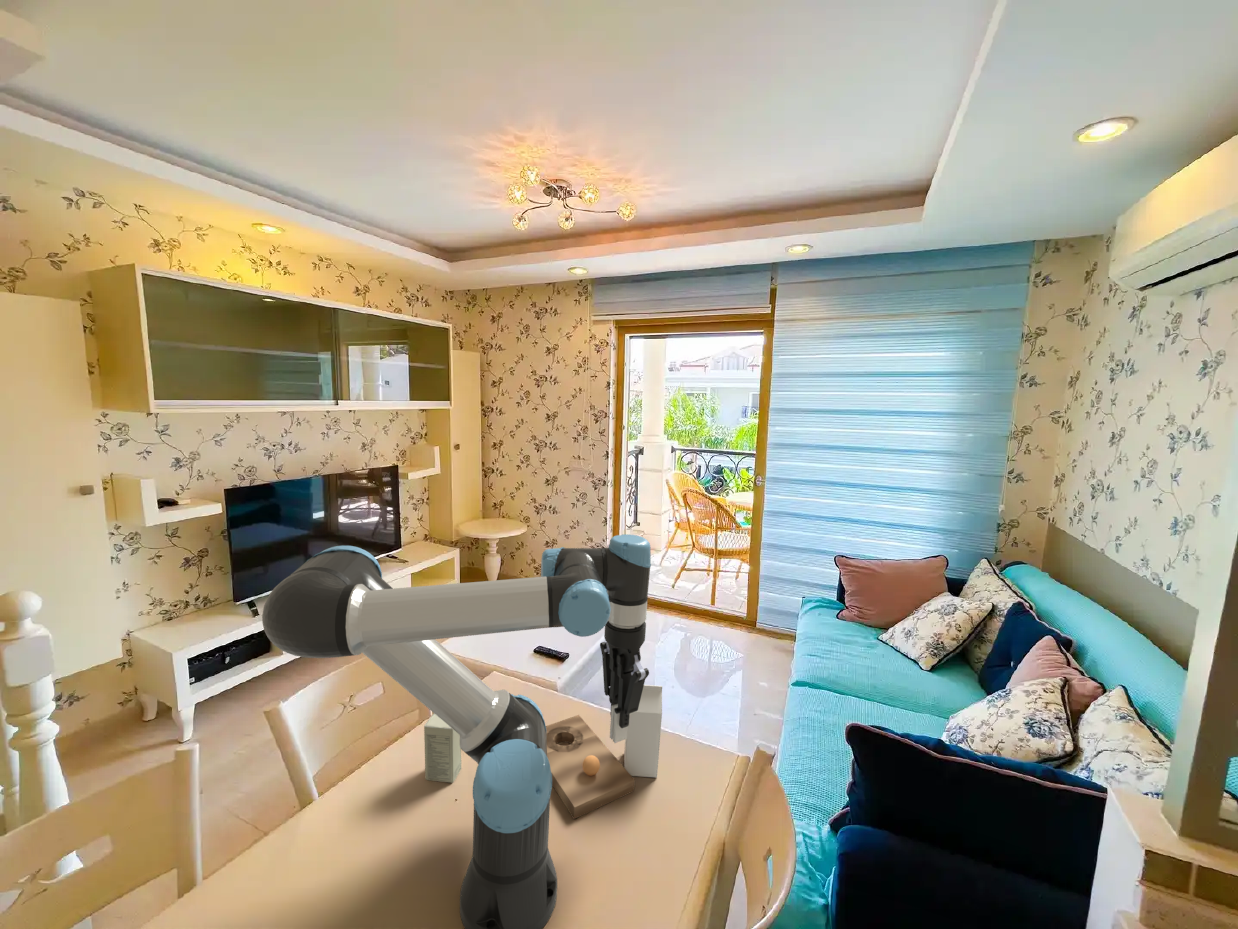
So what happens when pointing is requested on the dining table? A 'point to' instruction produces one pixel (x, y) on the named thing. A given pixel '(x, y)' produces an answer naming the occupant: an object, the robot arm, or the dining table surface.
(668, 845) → the dining table surface
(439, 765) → the skincare box
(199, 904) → the dining table surface
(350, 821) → the dining table surface
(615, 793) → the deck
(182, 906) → the dining table surface
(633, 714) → the milk carton
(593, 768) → the ball
